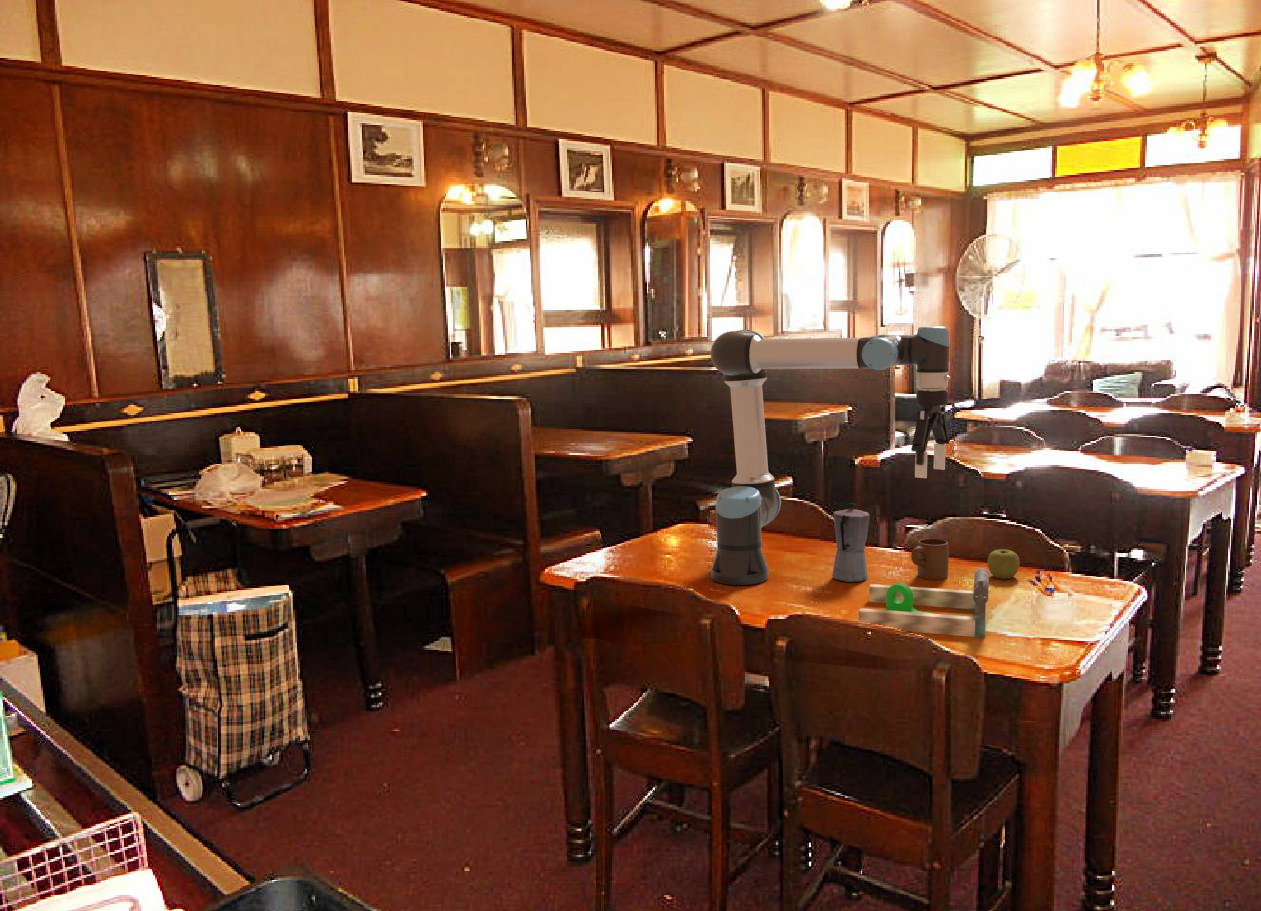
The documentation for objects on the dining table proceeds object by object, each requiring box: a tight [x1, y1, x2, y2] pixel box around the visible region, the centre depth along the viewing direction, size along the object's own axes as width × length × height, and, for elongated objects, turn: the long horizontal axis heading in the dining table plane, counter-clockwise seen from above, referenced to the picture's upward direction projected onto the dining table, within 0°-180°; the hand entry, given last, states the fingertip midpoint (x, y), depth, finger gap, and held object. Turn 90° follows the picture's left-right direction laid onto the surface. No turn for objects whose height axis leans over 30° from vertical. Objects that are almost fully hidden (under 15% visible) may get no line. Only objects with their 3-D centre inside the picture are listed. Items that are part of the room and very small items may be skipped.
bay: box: [858, 567, 990, 638], centre depth 209 cm, size 26×22×13 cm
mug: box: [910, 538, 950, 581], centre depth 240 cm, size 12×8×9 cm, turn 125°
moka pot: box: [832, 502, 871, 583], centre depth 241 cm, size 10×15×20 cm, turn 155°
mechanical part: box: [884, 582, 935, 614], centre depth 208 cm, size 12×6×8 cm, turn 53°
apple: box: [986, 548, 1021, 580], centre depth 238 cm, size 8×8×7 cm
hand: (930, 473), depth 235 cm, fingers open, 13 cm apart
